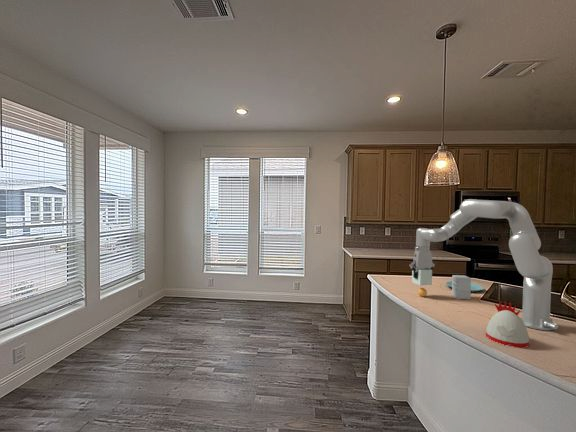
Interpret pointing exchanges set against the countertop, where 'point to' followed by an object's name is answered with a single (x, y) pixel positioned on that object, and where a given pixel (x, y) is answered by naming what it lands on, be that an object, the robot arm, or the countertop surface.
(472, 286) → the plate
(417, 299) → the countertop surface
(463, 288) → the supplement box
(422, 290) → the ball
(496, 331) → the kitchen timer
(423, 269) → the mint green block
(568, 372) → the countertop surface
